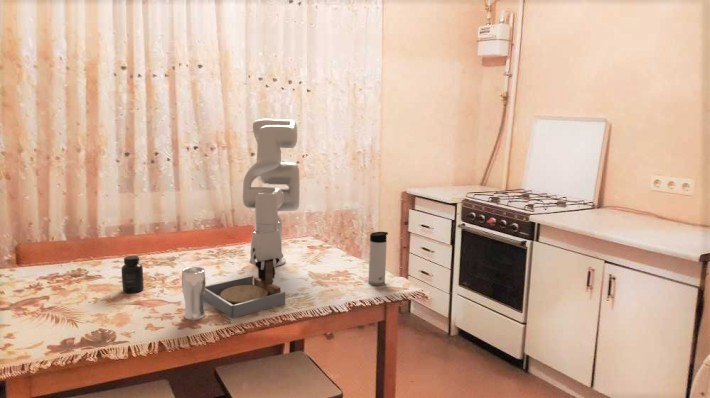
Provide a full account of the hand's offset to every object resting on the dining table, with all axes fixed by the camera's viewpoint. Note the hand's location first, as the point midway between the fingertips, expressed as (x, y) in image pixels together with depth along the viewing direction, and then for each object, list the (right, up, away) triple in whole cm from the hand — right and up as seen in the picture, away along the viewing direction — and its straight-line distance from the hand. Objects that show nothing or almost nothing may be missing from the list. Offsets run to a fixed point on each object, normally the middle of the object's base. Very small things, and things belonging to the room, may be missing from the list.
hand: (266, 277), depth 179 cm
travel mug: (+39, -5, +16) cm, 43 cm away
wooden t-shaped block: (0, -6, +1) cm, 6 cm away
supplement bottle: (-47, -5, +1) cm, 47 cm away
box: (-7, -7, -5) cm, 11 cm away
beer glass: (-19, -9, -19) cm, 28 cm away
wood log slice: (-7, -7, -5) cm, 11 cm away
